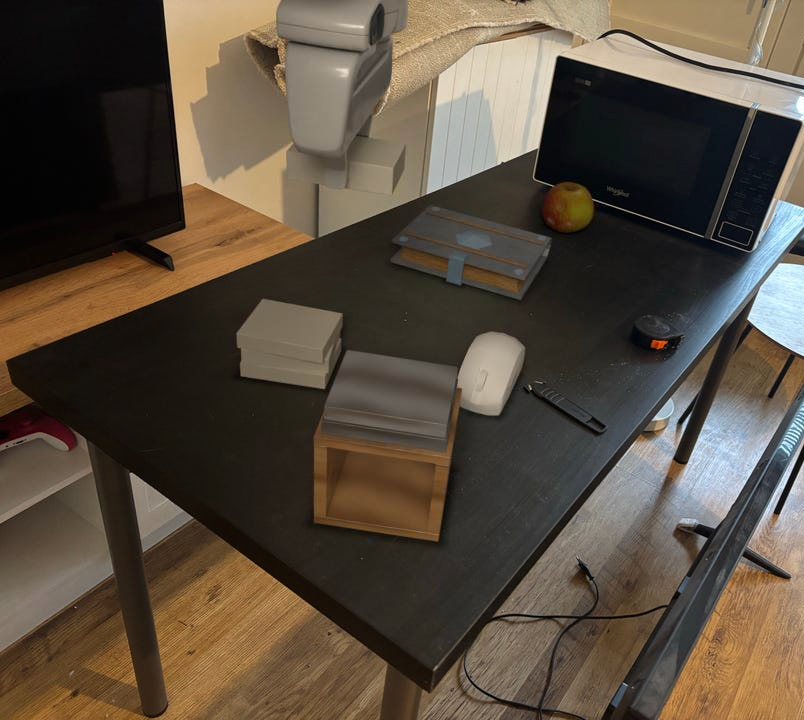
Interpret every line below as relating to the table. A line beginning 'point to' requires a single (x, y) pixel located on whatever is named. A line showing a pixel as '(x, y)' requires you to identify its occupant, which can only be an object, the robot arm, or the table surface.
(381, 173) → the beige flat block
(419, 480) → the oak stand
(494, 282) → the book
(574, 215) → the fruit
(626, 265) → the table surface
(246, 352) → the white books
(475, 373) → the computer mouse
